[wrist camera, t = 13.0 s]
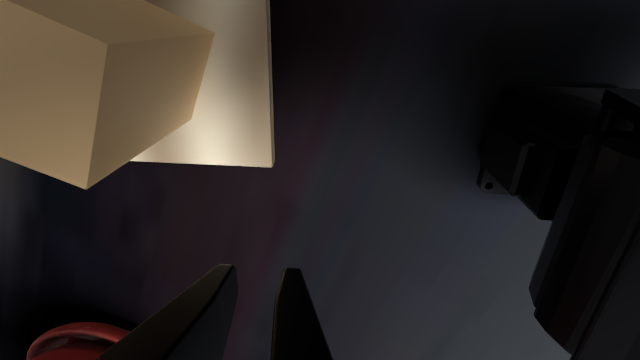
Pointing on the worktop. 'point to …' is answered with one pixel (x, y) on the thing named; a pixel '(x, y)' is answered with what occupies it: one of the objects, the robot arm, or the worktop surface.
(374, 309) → the worktop surface
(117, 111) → the ochre block
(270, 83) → the birch board
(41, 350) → the plant pot
